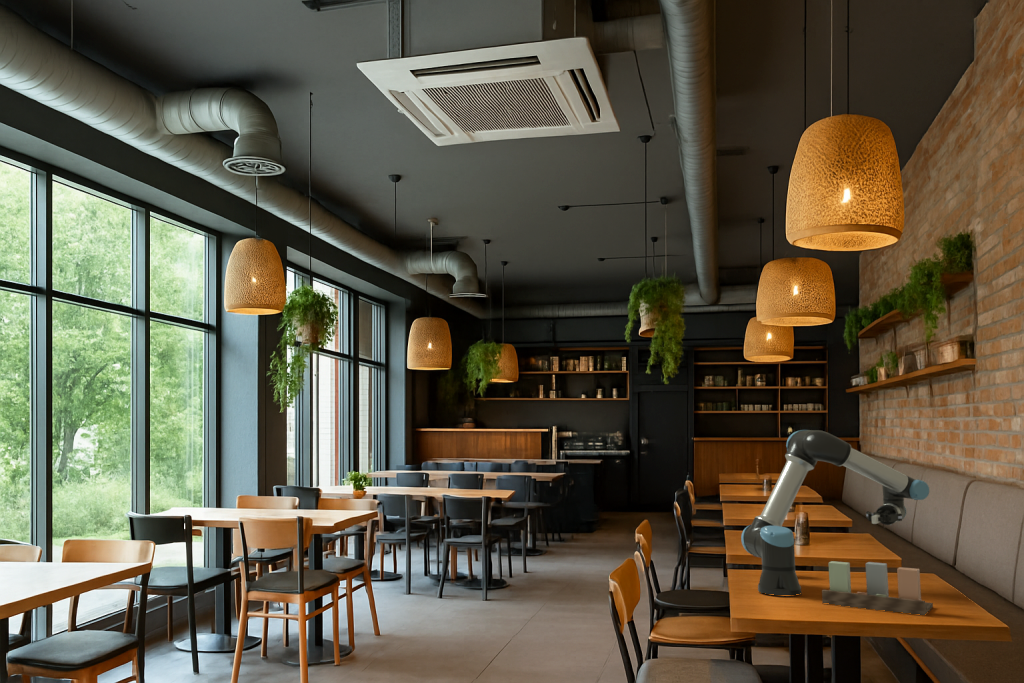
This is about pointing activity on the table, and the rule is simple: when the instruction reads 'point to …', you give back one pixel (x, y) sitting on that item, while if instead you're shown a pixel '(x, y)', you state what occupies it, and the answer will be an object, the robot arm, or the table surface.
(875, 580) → the blue-grey upright slab
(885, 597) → the keypad console
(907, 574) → the terracotta key
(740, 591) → the table surface
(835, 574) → the pale green upright slab
